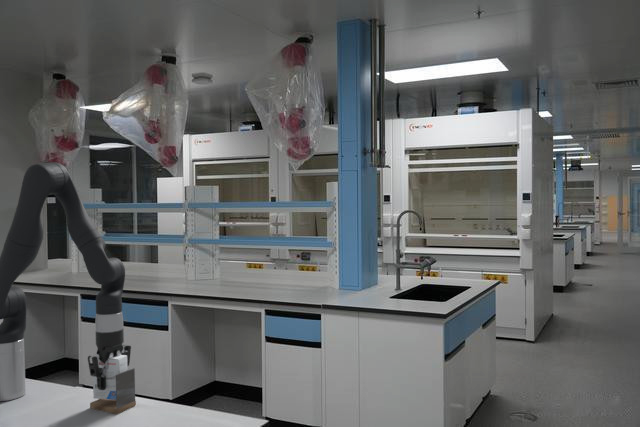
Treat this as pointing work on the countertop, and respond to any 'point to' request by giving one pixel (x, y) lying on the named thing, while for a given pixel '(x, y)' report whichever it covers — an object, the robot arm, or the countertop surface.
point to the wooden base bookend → (119, 394)
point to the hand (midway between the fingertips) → (110, 385)
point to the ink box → (110, 377)
